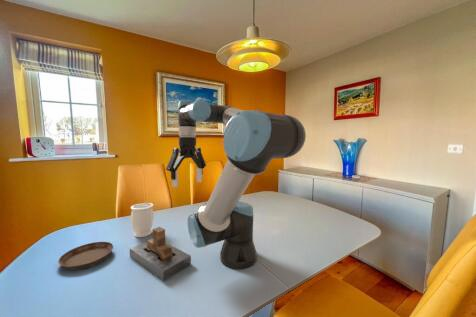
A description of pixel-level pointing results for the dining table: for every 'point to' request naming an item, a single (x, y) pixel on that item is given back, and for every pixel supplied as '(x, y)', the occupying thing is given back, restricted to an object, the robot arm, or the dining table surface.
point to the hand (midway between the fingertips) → (188, 184)
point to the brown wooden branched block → (159, 244)
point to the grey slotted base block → (158, 267)
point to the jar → (142, 219)
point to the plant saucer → (85, 255)
